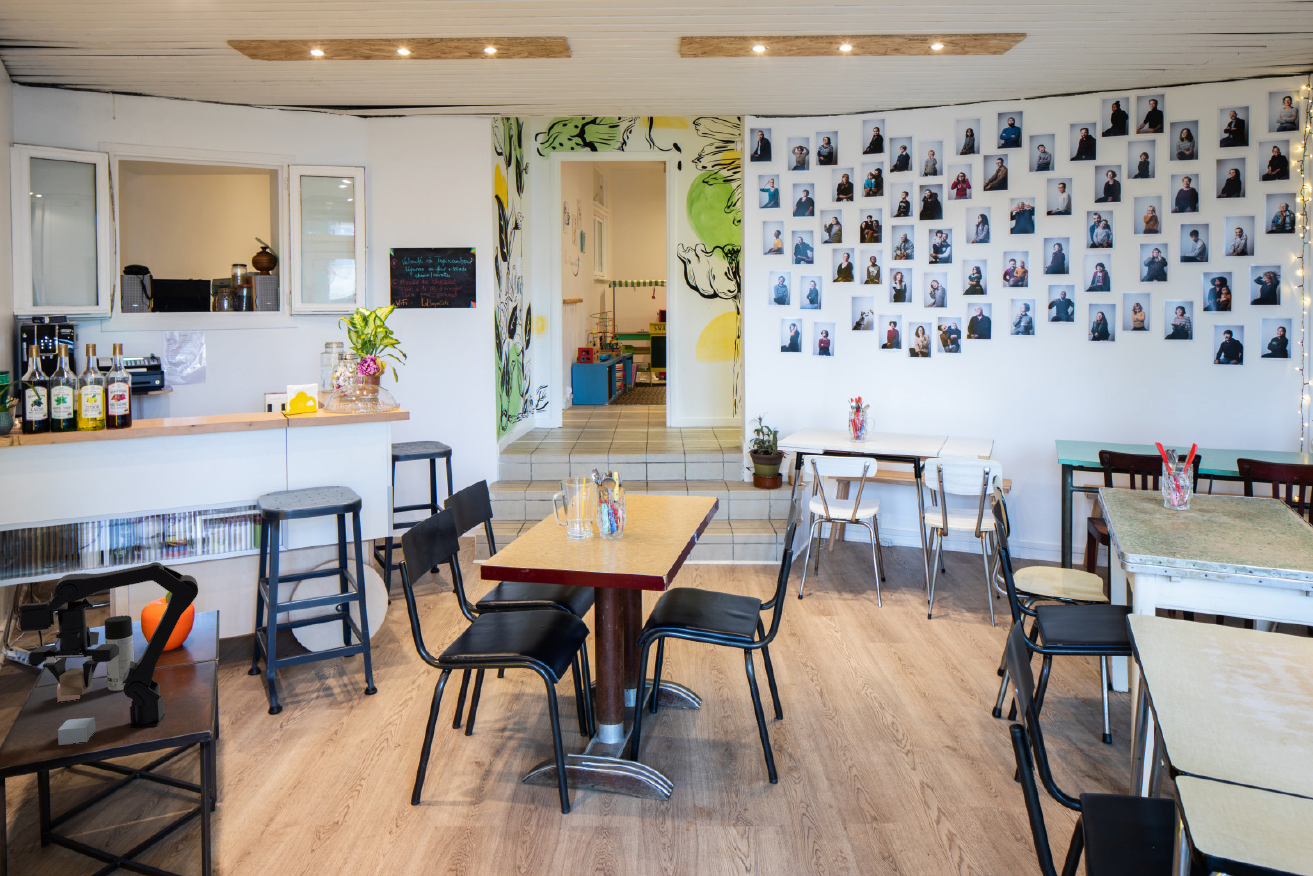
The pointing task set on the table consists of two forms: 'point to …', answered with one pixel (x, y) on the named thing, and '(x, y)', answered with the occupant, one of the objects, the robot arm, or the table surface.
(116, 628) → the spray can
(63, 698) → the terracotta block
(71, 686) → the walnut cube
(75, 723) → the slate block
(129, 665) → the robot arm
